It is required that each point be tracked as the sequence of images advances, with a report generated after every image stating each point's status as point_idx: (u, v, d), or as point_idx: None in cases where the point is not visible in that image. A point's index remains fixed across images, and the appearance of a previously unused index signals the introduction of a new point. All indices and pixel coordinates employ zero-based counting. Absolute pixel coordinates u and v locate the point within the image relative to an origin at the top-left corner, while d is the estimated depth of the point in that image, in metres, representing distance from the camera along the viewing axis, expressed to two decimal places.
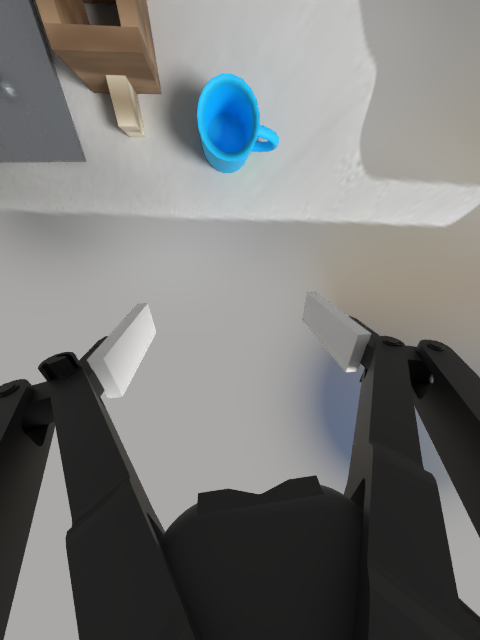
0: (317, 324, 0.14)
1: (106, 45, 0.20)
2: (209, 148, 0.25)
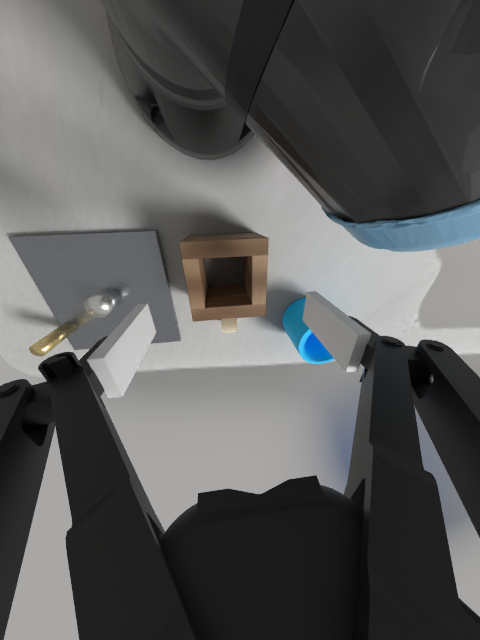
0: (317, 324, 0.14)
1: (237, 315, 0.24)
2: (304, 358, 0.29)
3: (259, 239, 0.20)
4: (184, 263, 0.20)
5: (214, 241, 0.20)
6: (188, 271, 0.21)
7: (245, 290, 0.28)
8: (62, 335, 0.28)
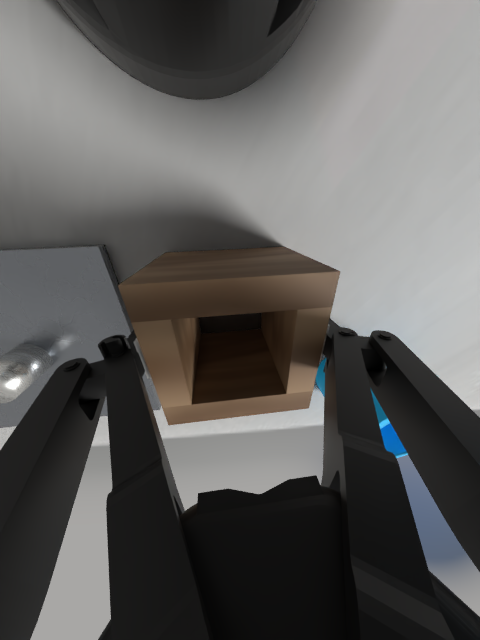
0: None
1: (255, 410, 0.12)
2: None
3: (318, 274, 0.08)
4: (138, 330, 0.09)
5: (209, 281, 0.08)
6: (151, 345, 0.09)
7: (265, 344, 0.17)
8: None
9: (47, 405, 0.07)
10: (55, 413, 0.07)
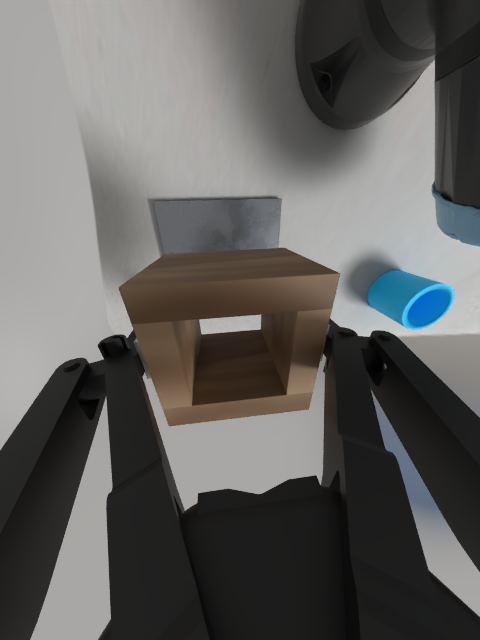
0: None
1: (256, 411, 0.12)
2: (404, 323, 0.31)
3: (318, 276, 0.08)
4: (139, 332, 0.09)
5: (209, 283, 0.08)
6: (151, 347, 0.09)
7: (265, 345, 0.17)
8: None
9: (47, 405, 0.07)
10: (55, 413, 0.07)
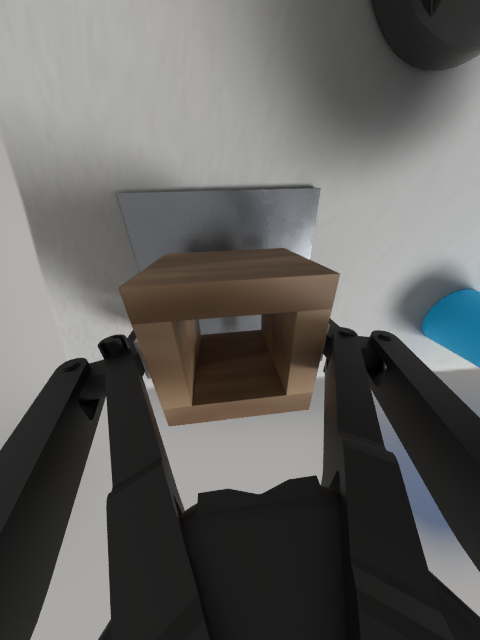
0: None
1: (255, 411, 0.12)
2: None
3: (318, 277, 0.08)
4: (139, 332, 0.09)
5: (209, 283, 0.08)
6: (151, 347, 0.09)
7: (265, 345, 0.17)
8: None
9: (47, 405, 0.07)
10: (55, 413, 0.07)
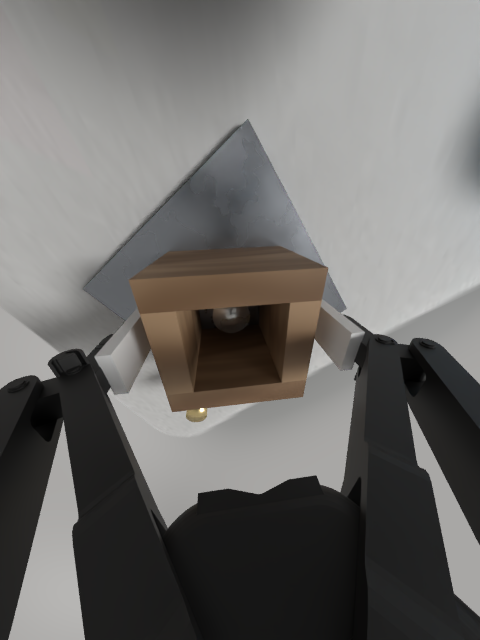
0: None
1: (253, 398, 0.13)
2: None
3: (308, 270, 0.09)
4: (146, 321, 0.10)
5: (210, 276, 0.09)
6: (157, 335, 0.10)
7: (262, 339, 0.17)
8: None
9: None
10: (2, 439, 0.06)
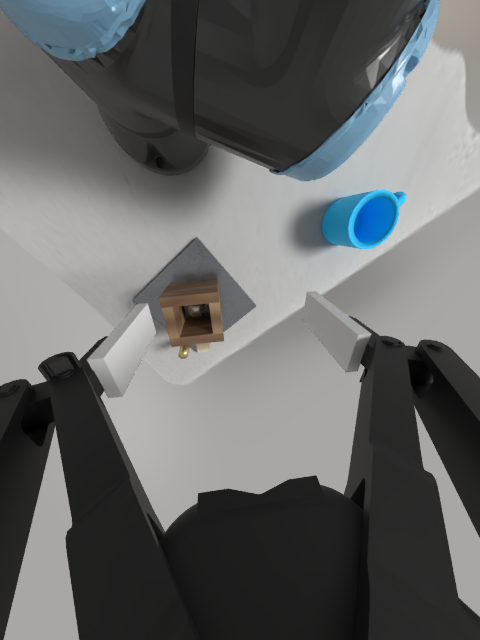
0: (317, 324, 0.14)
1: (203, 341, 0.34)
2: (363, 247, 0.31)
3: (212, 293, 0.30)
4: (162, 310, 0.31)
5: (181, 296, 0.30)
6: (166, 315, 0.31)
7: None
8: None
9: None
10: None
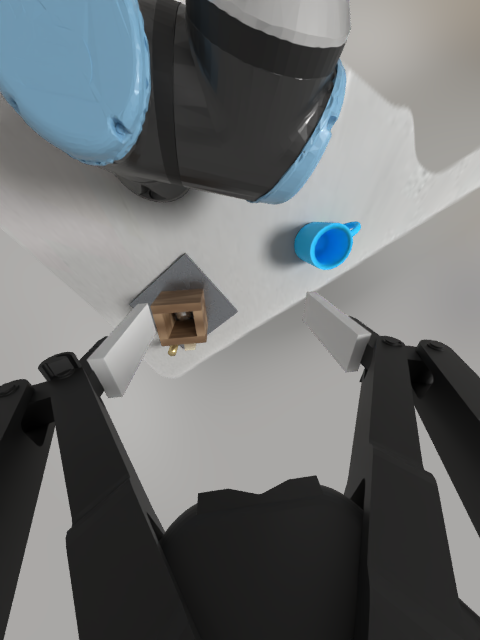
0: (317, 324, 0.14)
1: (188, 342, 0.40)
2: (323, 268, 0.36)
3: (195, 303, 0.36)
4: (154, 316, 0.37)
5: (170, 305, 0.36)
6: (157, 320, 0.37)
7: None
8: None
9: None
10: None
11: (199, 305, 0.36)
